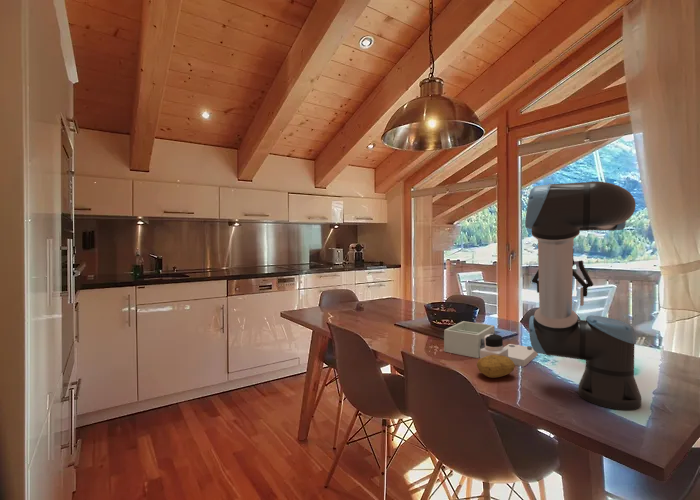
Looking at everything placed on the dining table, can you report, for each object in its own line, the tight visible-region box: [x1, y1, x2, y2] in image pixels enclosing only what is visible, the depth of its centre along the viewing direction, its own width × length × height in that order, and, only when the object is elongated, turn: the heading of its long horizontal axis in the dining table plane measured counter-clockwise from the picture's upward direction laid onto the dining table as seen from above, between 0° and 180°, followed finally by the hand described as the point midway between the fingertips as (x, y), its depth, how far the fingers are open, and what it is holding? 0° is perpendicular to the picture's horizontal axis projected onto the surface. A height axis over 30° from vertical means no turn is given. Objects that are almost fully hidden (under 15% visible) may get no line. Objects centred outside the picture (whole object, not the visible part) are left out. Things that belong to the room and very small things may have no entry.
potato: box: [476, 355, 516, 379], centre depth 128 cm, size 9×13×7 cm
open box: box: [443, 320, 496, 359], centre depth 158 cm, size 20×18×9 cm
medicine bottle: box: [479, 333, 508, 359], centre depth 135 cm, size 7×7×12 cm
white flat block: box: [503, 343, 539, 368], centre depth 148 cm, size 18×11×4 cm, turn 139°
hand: (561, 303), depth 143 cm, fingers open, 13 cm apart
